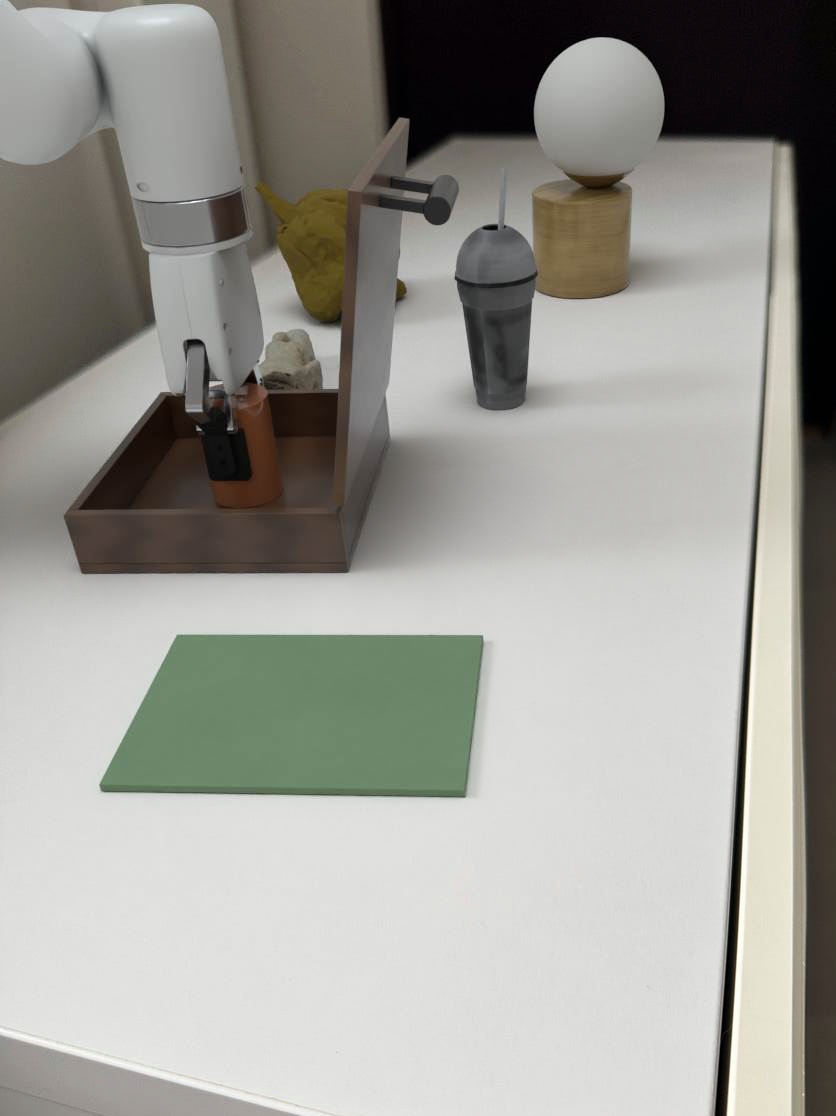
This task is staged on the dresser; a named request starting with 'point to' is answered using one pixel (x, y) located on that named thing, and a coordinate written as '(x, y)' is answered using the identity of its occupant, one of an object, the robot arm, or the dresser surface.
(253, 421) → the cylinder
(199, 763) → the mat
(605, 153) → the lamp
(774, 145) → the dresser surface
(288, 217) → the olive lumpy blob
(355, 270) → the lid
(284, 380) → the sculpture
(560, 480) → the dresser surface
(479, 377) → the beverage cup
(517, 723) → the dresser surface
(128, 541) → the chest
